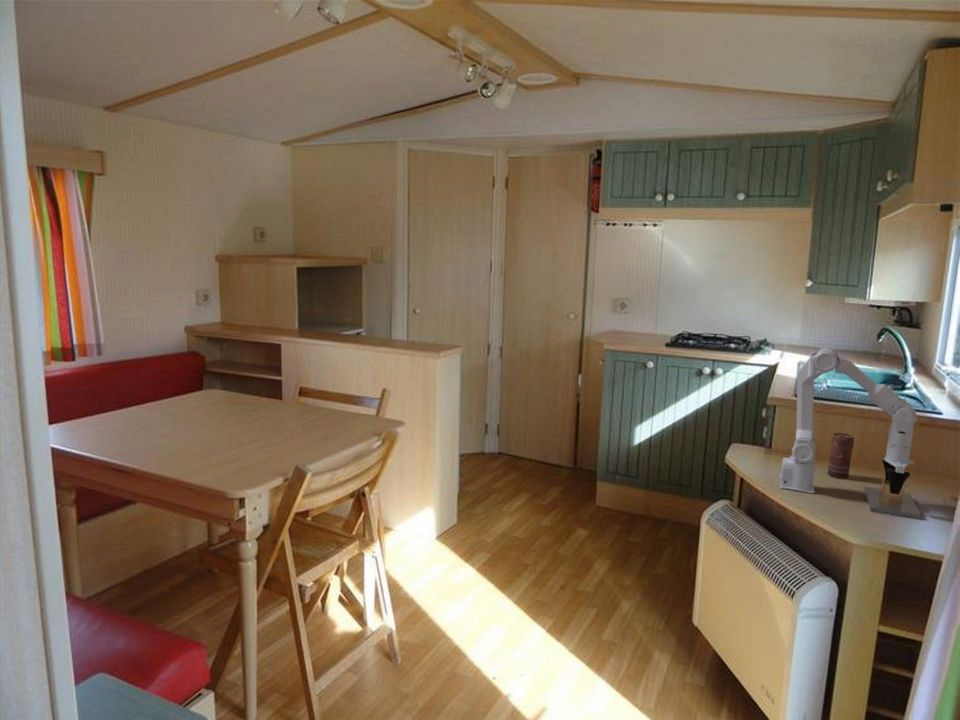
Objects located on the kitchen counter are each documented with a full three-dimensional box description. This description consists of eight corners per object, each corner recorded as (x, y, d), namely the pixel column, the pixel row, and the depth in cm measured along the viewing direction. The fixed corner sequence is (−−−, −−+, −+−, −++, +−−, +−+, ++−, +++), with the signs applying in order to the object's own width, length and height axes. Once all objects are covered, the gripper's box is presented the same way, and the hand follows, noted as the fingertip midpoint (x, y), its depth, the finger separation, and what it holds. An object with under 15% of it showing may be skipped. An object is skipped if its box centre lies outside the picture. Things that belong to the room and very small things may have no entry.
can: (849, 480, 210) (854, 439, 208) (827, 476, 213) (832, 435, 211) (849, 475, 215) (855, 434, 213) (827, 471, 218) (833, 431, 216)
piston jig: (870, 511, 185) (873, 491, 184) (863, 491, 201) (865, 472, 200) (920, 519, 180) (923, 499, 179) (908, 498, 196) (911, 479, 195)
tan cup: (881, 501, 189) (883, 484, 188) (878, 494, 194) (881, 478, 193) (903, 504, 187) (905, 488, 186) (900, 498, 192) (902, 482, 191)
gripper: (920, 453, 179) (913, 500, 182) (910, 440, 192) (904, 484, 195) (890, 449, 182) (883, 495, 185) (883, 436, 195) (877, 479, 198)
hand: (892, 489), depth 190 cm, fingers open, 7 cm apart
